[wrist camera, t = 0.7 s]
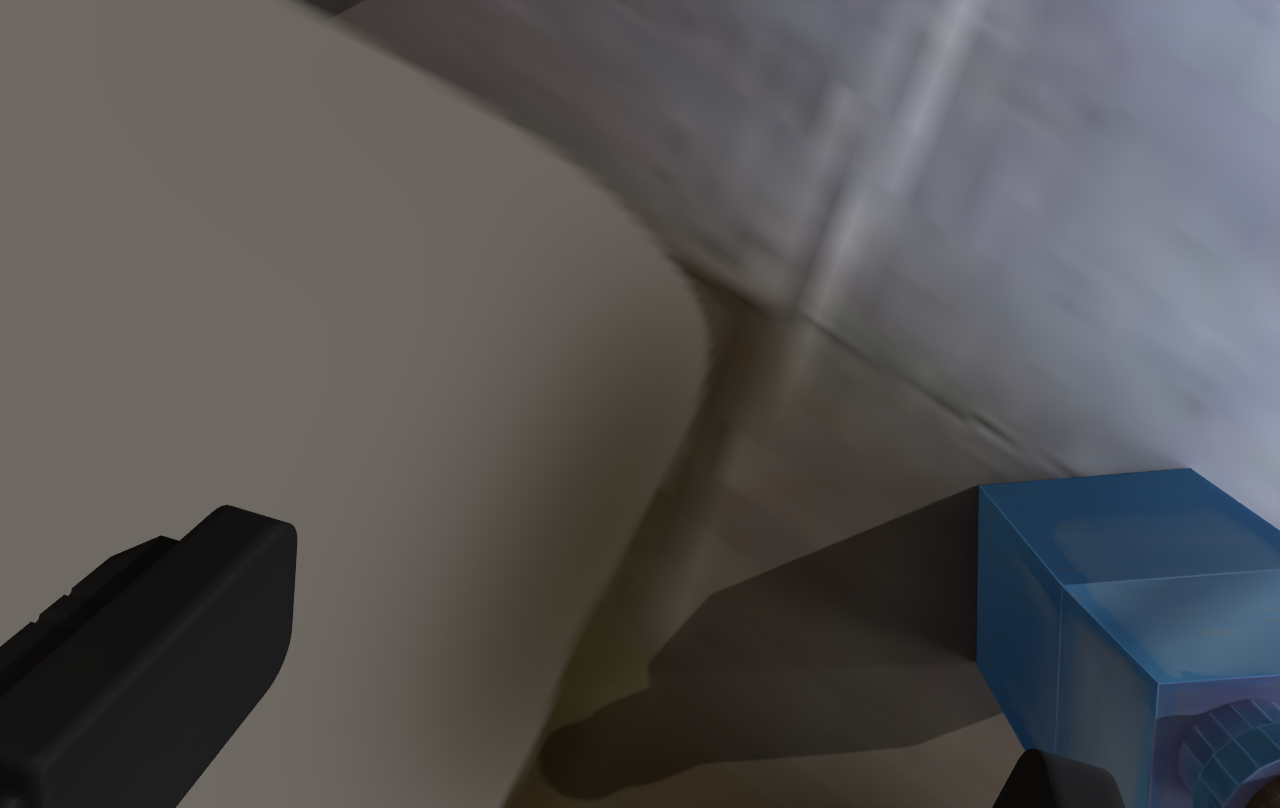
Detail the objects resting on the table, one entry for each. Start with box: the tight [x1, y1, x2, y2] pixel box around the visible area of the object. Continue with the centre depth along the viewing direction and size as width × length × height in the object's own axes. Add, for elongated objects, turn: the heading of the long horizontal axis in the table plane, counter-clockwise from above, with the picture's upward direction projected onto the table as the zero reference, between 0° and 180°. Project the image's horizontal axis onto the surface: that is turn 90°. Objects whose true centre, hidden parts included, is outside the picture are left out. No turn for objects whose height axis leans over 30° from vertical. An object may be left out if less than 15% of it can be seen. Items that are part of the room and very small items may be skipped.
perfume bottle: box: [977, 468, 1280, 808], centre depth 24 cm, size 6×6×12 cm
